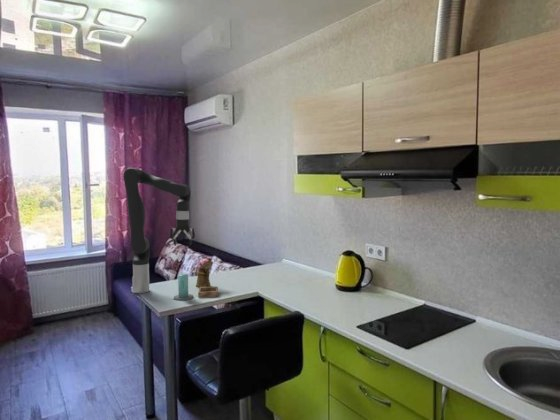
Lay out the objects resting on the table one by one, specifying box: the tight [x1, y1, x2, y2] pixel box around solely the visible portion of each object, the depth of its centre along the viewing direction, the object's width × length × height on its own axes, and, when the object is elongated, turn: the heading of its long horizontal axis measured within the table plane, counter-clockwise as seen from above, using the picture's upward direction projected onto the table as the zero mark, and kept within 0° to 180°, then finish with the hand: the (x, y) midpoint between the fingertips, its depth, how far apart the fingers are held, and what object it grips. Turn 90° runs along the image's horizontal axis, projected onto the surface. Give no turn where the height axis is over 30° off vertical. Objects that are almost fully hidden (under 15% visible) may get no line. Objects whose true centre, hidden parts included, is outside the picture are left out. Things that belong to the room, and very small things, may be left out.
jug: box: [177, 273, 189, 298], centre depth 224 cm, size 8×6×13 cm
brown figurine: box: [195, 260, 214, 289], centre depth 249 cm, size 9×14×18 cm, turn 43°
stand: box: [197, 286, 219, 298], centre depth 233 cm, size 11×11×3 cm
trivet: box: [173, 293, 194, 302], centre depth 226 cm, size 11×11×1 cm
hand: (182, 245), depth 232 cm, fingers open, 8 cm apart
